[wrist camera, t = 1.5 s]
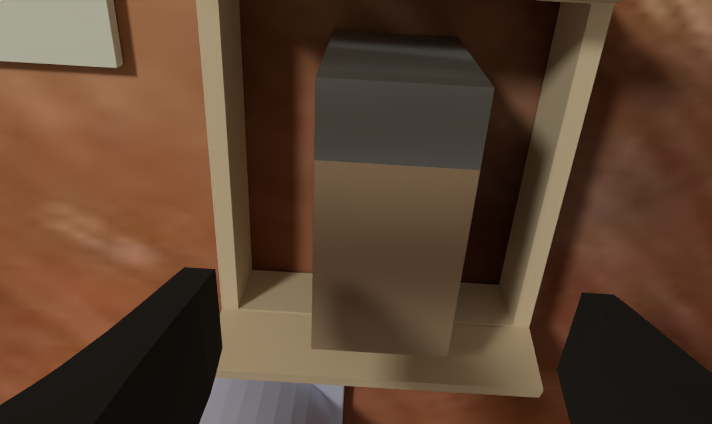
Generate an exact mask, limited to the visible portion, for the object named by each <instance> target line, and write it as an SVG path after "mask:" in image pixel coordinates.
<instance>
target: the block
mask: <svg viewBox="0 0 712 424" xmlns="http://www.w3.org/2000/svg"><path fill="white" fill-rule="evenodd" d="M494 90H495V87H494V86H493V85H492V83H491V82H490V81H489V79H488V78H487V76H486V75H485V74H484V72H483V71H482V70H481V68H480V67H479V66H478V64H477V63H476V61H475V60H474V59H473V57H472V56H471V55H470V53H469V52H468V50H467V49H466V48H465V46H464V45H463V44H462V42H461V41H460V39H459V38H458V37H442V36H426V35H409V34H392V33H375V32H358V31H342V30H334V31H333V33H332V36H331V38H330V41H329V44H328V46H327V49H326V51H325V54H324V57H323V59H322V62H321V64H320V67H319V70H318V72H317V75H316V83H315V145H314V207H313V269H312V331H311V349H319V350H335V351H352V352H368V353H384V354H401V355H417V356H434V357H447V356H448V350H449V344H450V339H451V333H452V328H453V322H454V316H455V311H456V305H457V299H458V294H459V288H460V282H461V277H462V271H463V265H464V260H465V254H466V248H467V243H468V237H469V231H470V226H471V220H472V214H473V209H474V203H475V197H476V192H477V186H478V180H479V175H480V169H481V163H482V158H483V152H484V146H485V141H486V135H487V129H488V124H489V118H490V112H491V107H492V101H493V95H494Z"/></svg>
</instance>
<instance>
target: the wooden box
mask: <svg viewBox="0 0 712 424" xmlns="http://www.w3.org/2000/svg"><path fill="white" fill-rule="evenodd" d="M538 1H554V2H561V3H560V8H559V12H558V17H557V21H556V26H555V31H554V35H553V40H552V44H551V49H550V53H549V58H548V63H547V67H546V72H545V76H544V81H543V85H542V90H541V95H540V99H539V104H538V108H537V113H536V117H535V122H534V127H533V131H532V136H531V140H530V145H529V149H528V154H527V159H526V163H525V168H524V172H523V177H522V182H521V186H520V191H519V195H518V200H517V204H516V209H515V214H514V218H513V223H512V227H511V232H510V236H509V241H508V246H507V250H506V255H505V259H504V264H503V268H502V273H501V278H500V282H499V285H494V284H478V283H461V282H460V288H459V294H458V299H457V305H456V311H455V316H454V322H453V328H452V333H451V339H450V344H449V350H448V356H447V357H434V356H417V355H401V354H384V353H368V352H352V351H335V350H319V349H311V331H312V273H297V272H281V271H264V270H252V256H251V235H250V215H249V194H248V173H247V152H246V132H245V111H244V90H243V69H242V49H241V28H240V7H239V0H196V5H197V17H198V29H199V41H200V53H201V65H202V77H203V89H204V101H205V113H206V125H207V137H208V148H209V160H210V172H211V184H212V196H213V208H214V220H215V232H216V244H217V256H218V268H219V280H220V291H221V303H222V310H221V314H220V325H221V335H222V346H223V348H222V352H221V356H220V360H219V364H218V368H217V372H216V376H215V378H226V379H243V380H259V381H275V382H292V383H308V384H324V385H341V386H357V387H373V388H389V389H406V390H422V391H438V392H455V393H471V394H487V395H504V396H520V397H536V398H539V397H540V396H541V394H542V392H543V386H542V381H541V377H540V373H539V368H538V364H537V360H536V355H535V351H534V346H533V342H532V338H531V333H530V329H529V326H530V322H531V319H532V315H533V311H534V307H535V304H536V300H537V296H538V292H539V288H540V285H541V281H542V277H543V273H544V269H545V266H546V262H547V258H548V254H549V250H550V247H551V243H552V239H553V235H554V231H555V228H556V224H557V220H558V216H559V212H560V209H561V205H562V201H563V197H564V194H565V190H566V186H567V182H568V178H569V175H570V171H571V167H572V163H573V159H574V156H575V152H576V148H577V144H578V140H579V137H580V133H581V129H582V125H583V121H584V118H585V114H586V110H587V106H588V102H589V99H590V95H591V91H592V87H593V84H594V80H595V76H596V72H597V68H598V65H599V61H600V57H601V53H602V49H603V46H604V42H605V38H606V34H607V30H608V27H609V23H610V19H611V15H612V11H613V8H614V4H615V3H617V2H620V1H624V0H538Z"/></svg>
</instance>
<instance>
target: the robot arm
mask: <svg viewBox="0 0 712 424" xmlns="http://www.w3.org/2000/svg"><path fill="white" fill-rule="evenodd" d="M222 348H223V346H222V335H221V325H220V314H219V304H218V293H217V283H216V273H215V269H202V268H187V267H184V268H183V269H182V270H181V271H179V272H178V273H177V274H176V275H175V276H173V277H172V278H171V279H170V280H169V281H167V282H166V283H165V284H164V285H163V286H161V287H160V288H159V289H158V290H157V291H155V292H154V293H153V294H152V295H151V296H150V297H148V298H147V299H146V300H145V301H144V302H142V303H141V304H140V305H139V306H138V307H136V308H135V309H134V310H133V311H132V312H130V313H129V314H128V315H127V316H125V317H124V318H123V319H122V320H120V321H119V322H118V323H117V324H116V325H114V326H113V327H112V328H111V329H109V330H108V331H107V332H106V333H104V334H103V335H102V336H100V337H99V338H98V339H96V340H95V341H94V342H92V343H91V344H90V345H88V346H87V347H85V348H84V349H83V350H81V351H80V352H79V353H77V354H76V355H75V356H73V357H72V358H71V359H69V360H68V361H67V362H65V363H64V364H63V365H61V366H60V367H58V368H57V369H55V370H54V371H52V372H51V373H50V374H48V375H47V376H45V377H44V378H42V379H41V380H39V381H38V382H36V383H35V384H33V385H32V386H30V387H28V388H27V389H25V390H24V391H22V392H20V393H19V394H17V395H16V396H14V397H12V398H11V399H9V400H8V401H6V402H4V403H3V404H1V405H0V424H342V420H343V402H344V386H341V385H324V384H308V383H292V382H275V381H259V380H243V379H226V378H215V376H216V372H217V368H218V364H219V360H220V356H221V352H222ZM557 370H558V374H559V379H560V383H561V387H562V392H563V396H564V400H565V404H566V408H567V412H568V416H569V419H570V422H571V424H712V373H711V372H709V371H708V370H707V369H706V368H704V367H703V366H702V365H701V364H699V363H698V362H697V361H696V360H694V359H693V358H692V357H691V356H689V355H688V354H687V353H686V352H684V351H683V350H682V349H681V348H679V347H678V346H677V345H676V344H675V343H673V342H672V341H671V340H670V339H669V338H667V337H666V336H665V335H664V334H662V333H661V332H660V331H659V330H658V329H656V328H655V327H654V326H653V325H652V324H650V323H649V322H648V321H647V320H645V319H644V318H643V317H642V316H641V315H639V314H638V313H637V312H636V311H634V310H633V309H632V308H631V307H629V306H628V305H627V304H625V303H624V302H623V301H621V300H620V299H619V298H617V297H616V296H615V295H611V294H595V293H582V294H581V297H580V300H579V304H578V307H577V310H576V313H575V316H574V319H573V322H572V325H571V328H570V332H569V335H568V338H567V341H566V344H565V347H564V350H563V353H562V356H561V360H560V363H559V366H558V369H557Z"/></svg>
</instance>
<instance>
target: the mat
mask: <svg viewBox="0 0 712 424" xmlns="http://www.w3.org/2000/svg"><path fill="white" fill-rule="evenodd" d="M0 61H9V62H25V63H42V64H59V65H76V66H92V67H109V68H118V67H120V66H121V65H123V59H122V53H121V46H120V40H119V33H118V27H117V20H116V14H115V7H114V0H0Z"/></svg>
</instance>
